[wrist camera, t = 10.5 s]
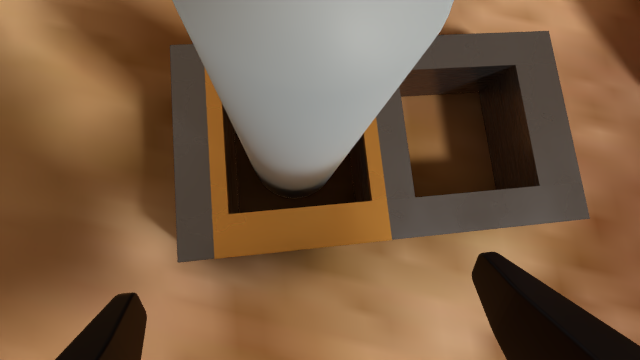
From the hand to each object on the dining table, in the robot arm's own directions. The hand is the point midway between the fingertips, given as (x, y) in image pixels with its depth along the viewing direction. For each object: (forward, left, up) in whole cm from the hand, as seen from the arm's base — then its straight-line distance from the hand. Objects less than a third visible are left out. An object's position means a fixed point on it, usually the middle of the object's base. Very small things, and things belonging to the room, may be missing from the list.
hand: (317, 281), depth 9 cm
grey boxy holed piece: (+5, -4, -7) cm, 10 cm away
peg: (+5, 0, -7) cm, 9 cm away
